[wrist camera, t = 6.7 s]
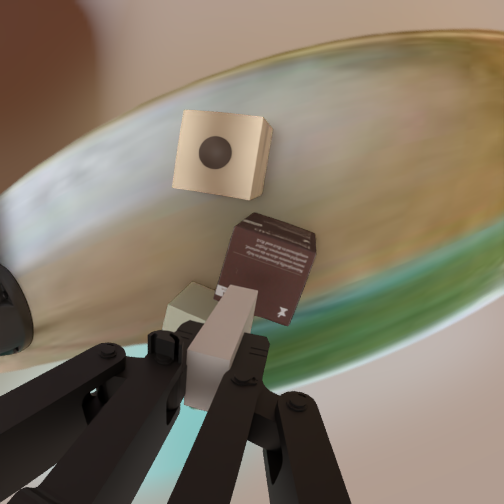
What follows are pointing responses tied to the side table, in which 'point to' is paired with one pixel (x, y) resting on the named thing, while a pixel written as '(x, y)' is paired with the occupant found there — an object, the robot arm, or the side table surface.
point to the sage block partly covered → (189, 306)
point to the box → (269, 265)
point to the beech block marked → (222, 154)
